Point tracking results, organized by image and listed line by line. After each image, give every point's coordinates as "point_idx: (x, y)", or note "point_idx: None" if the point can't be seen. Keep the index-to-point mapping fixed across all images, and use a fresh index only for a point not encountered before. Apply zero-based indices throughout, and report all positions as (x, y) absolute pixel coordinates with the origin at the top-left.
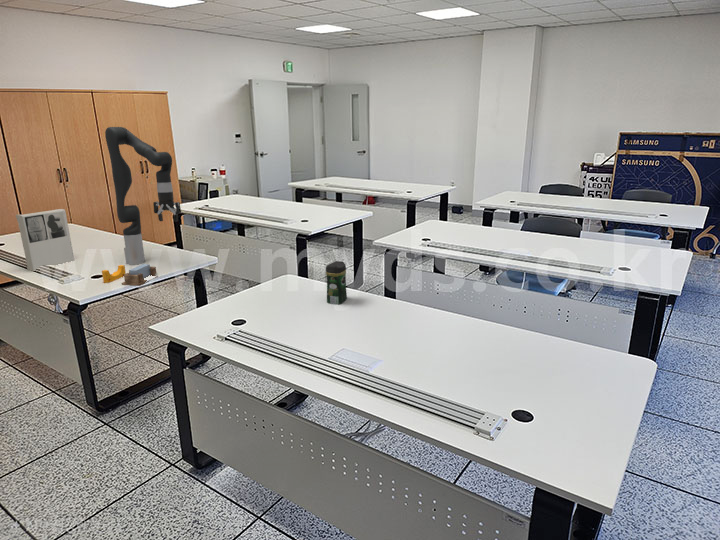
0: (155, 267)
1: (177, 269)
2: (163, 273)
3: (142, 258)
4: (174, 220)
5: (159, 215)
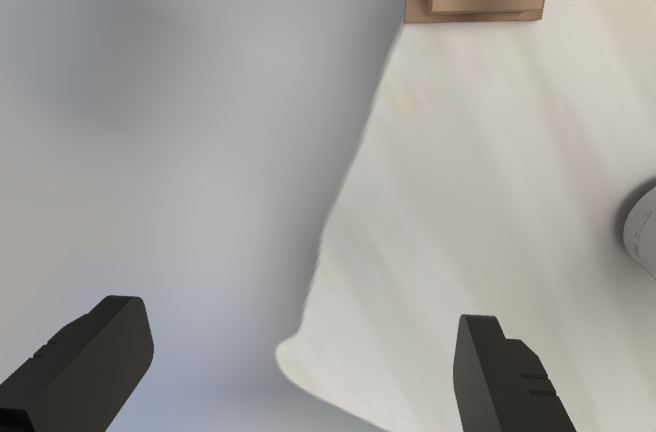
0: (431, 6)
1: (361, 173)
2: (405, 76)
3: (648, 231)
4: (115, 306)
5: (520, 428)
